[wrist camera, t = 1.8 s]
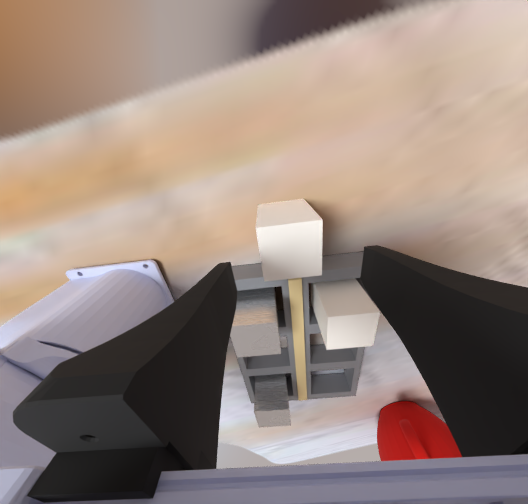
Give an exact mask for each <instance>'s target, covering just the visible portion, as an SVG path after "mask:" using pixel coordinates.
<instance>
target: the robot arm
mask: <svg viewBox="0 0 528 504" xmlns="http://www.w3.org/2000/svg"><path fill="white" fill-rule="evenodd" d="M145 264H146V265H148V266H146V265H145ZM66 275H67V277H68V278H69V279H70V281H68V282H67V283H65V284H64V285H62V286H61V287H59V288H58V289H56V290H54V291H53V292H51V293H50V294H48V295H47V296H45V297H44V298H42V299H41V300H39V301H38V302H36V303H35V304H33V305H31V306H30V307H28V308H27V309H25V310H24V311H22V312H21V313H19V314H18V315H16V316H15V317H13V318H12V319H10V320H9V321H7V322H6V323H5V324H3V325H2V326H1V327H0V504H528V288H527V287H522V286H517V285H512V284H507V283H502V282H498V281H493V280H489V279H484V278H480V277H477V276H473V275H469V274H465V273H461V272H457V271H454V270H450V269H447V268H444V267H441V266H437V265H434V264H431V263H428V262H425V261H422V260H419V259H416V258H413V257H410V256H408V255H405V254H402V253H399V252H396V251H393V250H390V249H387V248H384V247H381V246H367V247H364V253H363V261H362V268H361V276H360V279H361V281H362V283H363V285H364V287H365V289H366V291H367V293H368V294H369V296H370V297H371V299H372V300H373V301H374V303H375V304H376V306H377V307H378V308H379V310H380V311H381V312H382V314H383V315H384V316H385V318H386V319H387V320H388V322H389V323H390V325H391V326H392V327H393V329H394V330H395V331H396V333H397V334H398V336H399V337H400V339H401V340H402V342H403V344H404V345H405V347H406V349H407V350H408V352H409V354H410V356H411V357H412V359H413V361H414V362H415V364H416V366H417V368H418V370H419V371H420V373H421V375H422V377H423V379H424V380H425V382H426V384H427V386H428V388H429V390H430V392H431V394H432V396H433V398H434V400H435V402H436V403H437V405H438V407H439V409H440V411H441V413H442V415H443V417H444V419H445V422H446V424H447V426H448V428H449V430H450V432H451V434H452V436H453V438H454V440H455V442H456V444H457V447H458V449H459V451H460V453H461V455H462V457H458V458H437V459H416V460H395V461H375V462H353V463H333V464H311V465H291V466H269V467H248V468H227V469H216V462H217V447H218V432H219V419H220V408H221V396H222V386H223V377H224V368H225V360H226V352H227V347H228V342H229V338H230V333H231V329H232V324H233V320H234V315H235V311H236V304H237V292H238V291H237V287H236V283H235V279H234V275H233V271H232V267H231V263H230V262H226V263H219V264H218V265H217V266H215V267H214V268H213V269H212V270H211V271H210V272H209V273H208V274H207V275H206V276H205V277H204V278H202V279H201V280H200V281H199V282H198V283H197V284H196V285H195V286H193V287H192V288H191V289H190V290H189V291H187V292H186V293H185V294H184V295H183V296H181V297H180V298H179V299H177V300H176V301H175V302H174V300H173V297H172V295H171V293H170V291H169V289H168V286H167V284H166V282H165V280H164V278H163V276H162V273H161V271H160V269H159V267H158V265H157V263H156V262H155V261H154V260H144V261H135V262H127V263H119V264H110V265H102V266H93V267H85V268H76V269H70V270H68V271H67V272H66Z"/></svg>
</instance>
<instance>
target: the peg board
mask: <svg viewBox="0 0 528 504" xmlns="http://www.w3.org/2000/svg"><path fill="white" fill-rule="evenodd" d="M363 253H364V251H363V252H354V253H346V254H337V255H328V256H322V275H320V276H311V277H302V278H292V279H283V280H274V281H265V282H264V277H263V271H262V264H261V263H258V264H249V265H240V266H231V267H232V271H233V275H234V279H235V283H236V287H237V291H240V290H249V289H258V288H268V287H277V286H281V289H282V298H283V307H284V310H277V312H278V323H279V334H280V337H284V336H287V344H288V348H281V354H273V355H261V356H250V357H238V358H237V360H238V363H239V366H240V369H241V372H242V375H243V379H244V382H245V385H246V388H247V391H248V395H249V398H250V401H251V403H254V400H255V376H260V375H272V374H285V373H291V377H286V381H287V390H288V400H289V401H290V400H307V399H318V398H332V397H345V396H356V391H357V385H358V380H359V374H360V369H361V363H362V358H363V352H364V347H354V348H343V349H331V350H326V346H325V344H323V345H312V346H310V334H317V333H321V331H320V328H319V325H318V322H317V319H316V316H315V313H314V309H313V307H309V285H308V283H315V282H324V281H334V280H343V279H353V278H355V279H356V280H357V281H358V283H359V284H360V285H361V287H362V288H363V289H364V291H365V292H366V293H367V291H366V289H365V287H364V285H363V283H362V281H361V279H360V276H361V268H362V261H363ZM367 295H368V296H369V294H368V293H367ZM369 297H370V296H369ZM370 299H371V297H370ZM371 300H372V299H371ZM372 302H373V300H372ZM230 337H231V336H230ZM232 344H233V343H232ZM233 347H234V346H233ZM234 350H235V349H234ZM235 353H236V352H235ZM335 369H344V373H336V374H323V375H311V371H322V370H335Z"/></svg>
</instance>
